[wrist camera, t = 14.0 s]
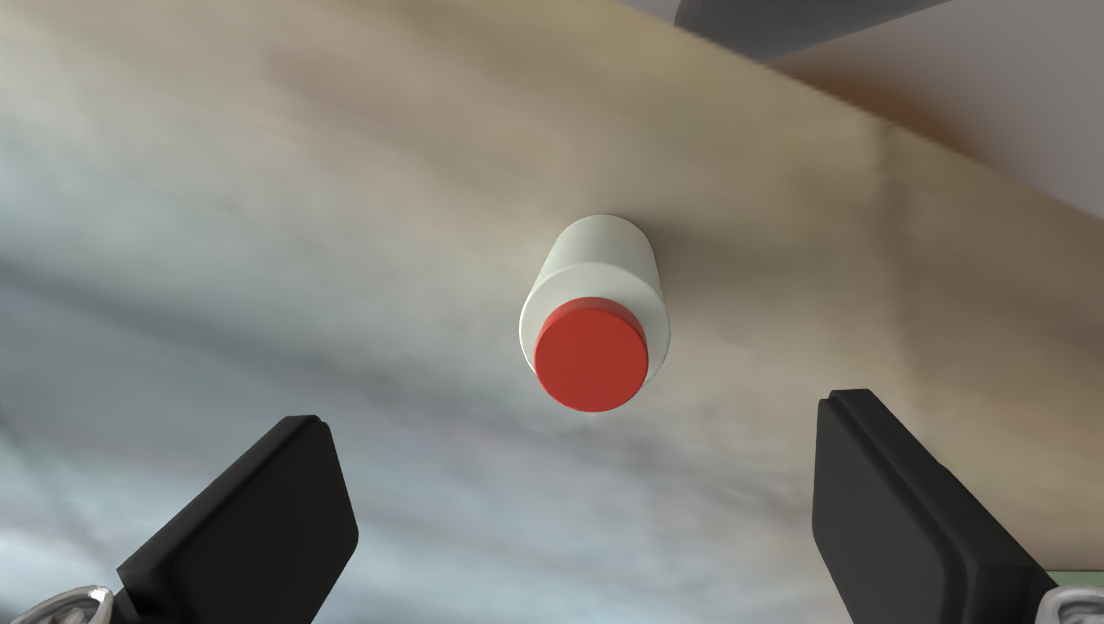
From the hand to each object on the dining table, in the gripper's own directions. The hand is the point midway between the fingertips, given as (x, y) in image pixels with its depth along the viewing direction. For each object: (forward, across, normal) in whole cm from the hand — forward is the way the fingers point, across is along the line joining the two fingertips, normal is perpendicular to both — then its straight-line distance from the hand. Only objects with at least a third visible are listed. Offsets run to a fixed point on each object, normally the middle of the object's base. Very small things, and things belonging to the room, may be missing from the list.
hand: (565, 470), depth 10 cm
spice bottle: (+13, 0, 0) cm, 13 cm away
